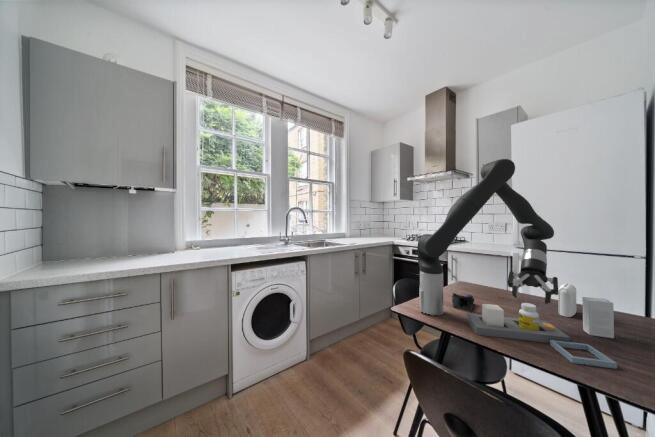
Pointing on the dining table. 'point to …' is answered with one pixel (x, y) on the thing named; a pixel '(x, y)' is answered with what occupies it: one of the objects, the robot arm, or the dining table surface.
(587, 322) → the skincare box
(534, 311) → the supplement bottle
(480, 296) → the dining table surface
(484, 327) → the socket strip
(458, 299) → the dark piece
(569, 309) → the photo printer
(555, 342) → the blue-grey square frame
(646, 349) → the dining table surface
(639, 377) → the dining table surface
